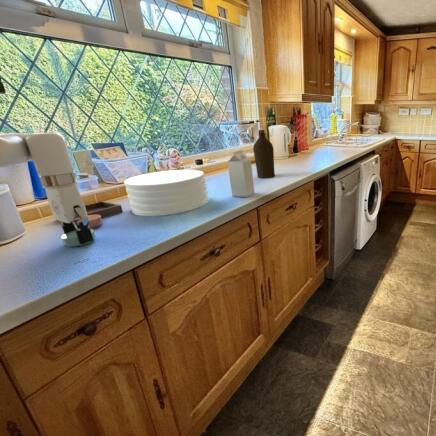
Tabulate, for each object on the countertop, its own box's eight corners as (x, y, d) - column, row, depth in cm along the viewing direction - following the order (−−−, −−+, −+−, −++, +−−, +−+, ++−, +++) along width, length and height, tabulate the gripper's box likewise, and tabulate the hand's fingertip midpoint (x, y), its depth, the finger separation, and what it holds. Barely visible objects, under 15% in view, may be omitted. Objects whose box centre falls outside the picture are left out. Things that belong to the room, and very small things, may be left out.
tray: (74, 225, 102) (72, 217, 101) (56, 219, 108) (54, 212, 107) (122, 211, 115) (120, 204, 114) (104, 207, 121) (102, 200, 120)
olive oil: (278, 177, 165) (274, 129, 157) (259, 179, 161) (253, 131, 152) (272, 173, 174) (268, 128, 166) (254, 176, 170) (249, 130, 161)
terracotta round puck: (82, 232, 96) (79, 223, 95) (71, 228, 99) (68, 220, 98) (107, 224, 102) (105, 216, 101) (96, 221, 105) (94, 213, 104)
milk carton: (232, 196, 130) (225, 152, 124) (240, 192, 137) (234, 149, 130) (247, 197, 128) (241, 152, 122) (254, 193, 135) (249, 149, 128)
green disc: (71, 250, 83) (68, 240, 82) (59, 245, 87) (56, 235, 86) (101, 240, 89) (98, 230, 88) (89, 236, 93) (86, 227, 92)
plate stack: (222, 200, 125) (218, 173, 121) (155, 221, 104) (147, 188, 100) (184, 192, 140) (179, 167, 136) (118, 208, 119) (110, 180, 115)
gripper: (28, 180, 83) (50, 239, 89) (56, 186, 74) (79, 250, 80) (61, 174, 89) (80, 230, 95) (91, 179, 80) (109, 240, 86)
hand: (79, 239), depth 87 cm, fingers closed on green disc, 7 cm apart
